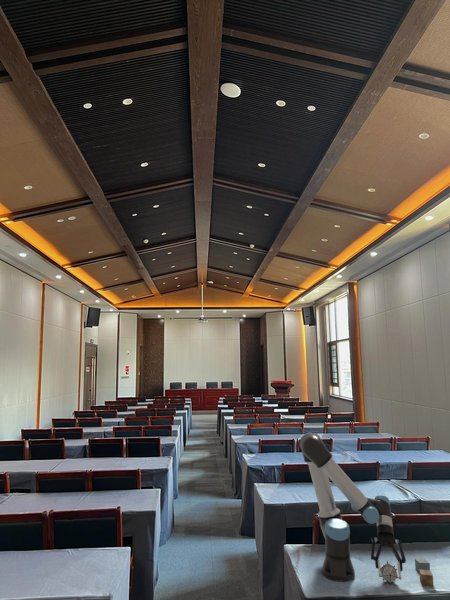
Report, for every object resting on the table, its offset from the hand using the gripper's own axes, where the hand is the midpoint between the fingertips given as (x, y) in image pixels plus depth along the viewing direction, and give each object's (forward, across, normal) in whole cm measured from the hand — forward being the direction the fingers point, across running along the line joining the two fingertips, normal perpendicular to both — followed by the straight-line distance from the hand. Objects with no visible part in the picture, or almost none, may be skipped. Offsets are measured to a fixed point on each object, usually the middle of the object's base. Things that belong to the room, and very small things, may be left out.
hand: (390, 576), depth 203 cm
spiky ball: (0, 0, -5) cm, 5 cm away
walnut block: (-2, -16, -7) cm, 18 cm away
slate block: (-11, -17, -16) cm, 26 cm away
